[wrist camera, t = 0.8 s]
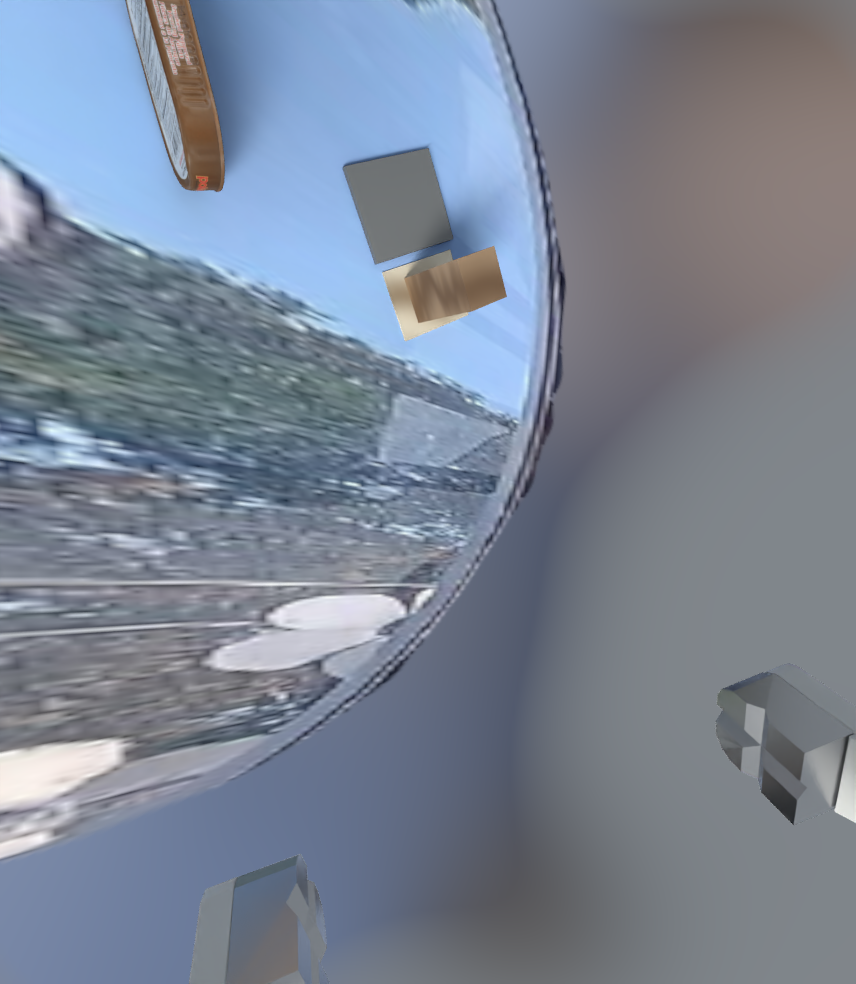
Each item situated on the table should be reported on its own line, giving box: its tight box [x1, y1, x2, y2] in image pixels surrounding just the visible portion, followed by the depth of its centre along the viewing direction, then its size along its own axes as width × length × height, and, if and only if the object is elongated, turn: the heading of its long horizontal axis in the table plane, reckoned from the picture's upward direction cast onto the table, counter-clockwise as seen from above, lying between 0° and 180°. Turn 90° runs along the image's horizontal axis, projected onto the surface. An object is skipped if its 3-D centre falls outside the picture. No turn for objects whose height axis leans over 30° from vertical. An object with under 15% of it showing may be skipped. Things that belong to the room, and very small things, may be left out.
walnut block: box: [404, 246, 507, 323], centre depth 51 cm, size 5×5×9 cm
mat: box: [343, 148, 453, 264], centre depth 51 cm, size 9×10×1 cm
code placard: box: [382, 250, 468, 341], centre depth 54 cm, size 7×9×1 cm
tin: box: [126, 0, 225, 192], centre depth 36 cm, size 15×3×8 cm, turn 11°
